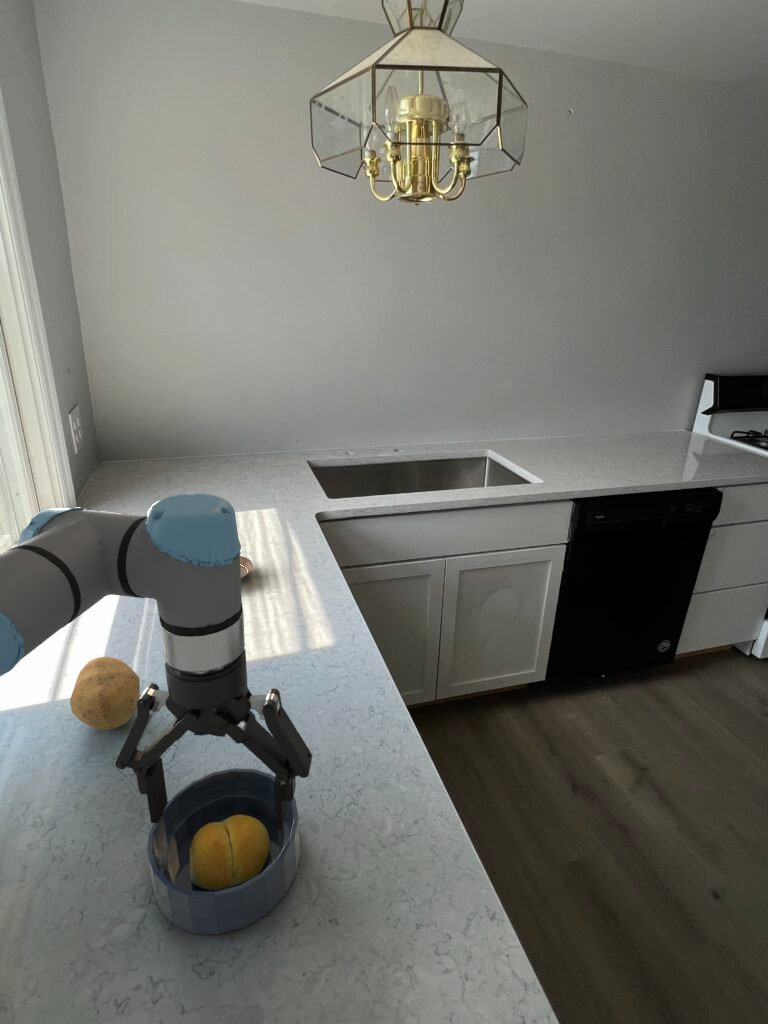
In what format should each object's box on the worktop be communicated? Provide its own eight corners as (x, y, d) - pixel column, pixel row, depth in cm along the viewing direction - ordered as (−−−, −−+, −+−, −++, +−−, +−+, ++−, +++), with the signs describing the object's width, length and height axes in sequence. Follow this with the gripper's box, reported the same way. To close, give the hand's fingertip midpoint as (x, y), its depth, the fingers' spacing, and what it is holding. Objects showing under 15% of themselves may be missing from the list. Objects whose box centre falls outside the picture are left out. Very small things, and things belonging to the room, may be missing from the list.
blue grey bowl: (128, 934, 57) (119, 893, 54) (185, 802, 72) (180, 766, 69) (285, 940, 56) (282, 899, 54) (309, 806, 71) (307, 770, 69)
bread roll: (276, 876, 62) (274, 850, 61) (192, 905, 59) (188, 879, 57) (263, 816, 69) (261, 792, 68) (187, 839, 66) (183, 814, 65)
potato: (77, 759, 78) (66, 713, 75) (73, 700, 89) (64, 658, 87) (151, 735, 82) (144, 691, 80) (139, 682, 94) (132, 642, 91)
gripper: (337, 636, 57) (336, 792, 65) (97, 625, 58) (124, 782, 65) (329, 683, 50) (328, 852, 58) (56, 670, 51) (91, 840, 58)
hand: (220, 815), depth 61 cm, fingers open, 13 cm apart
